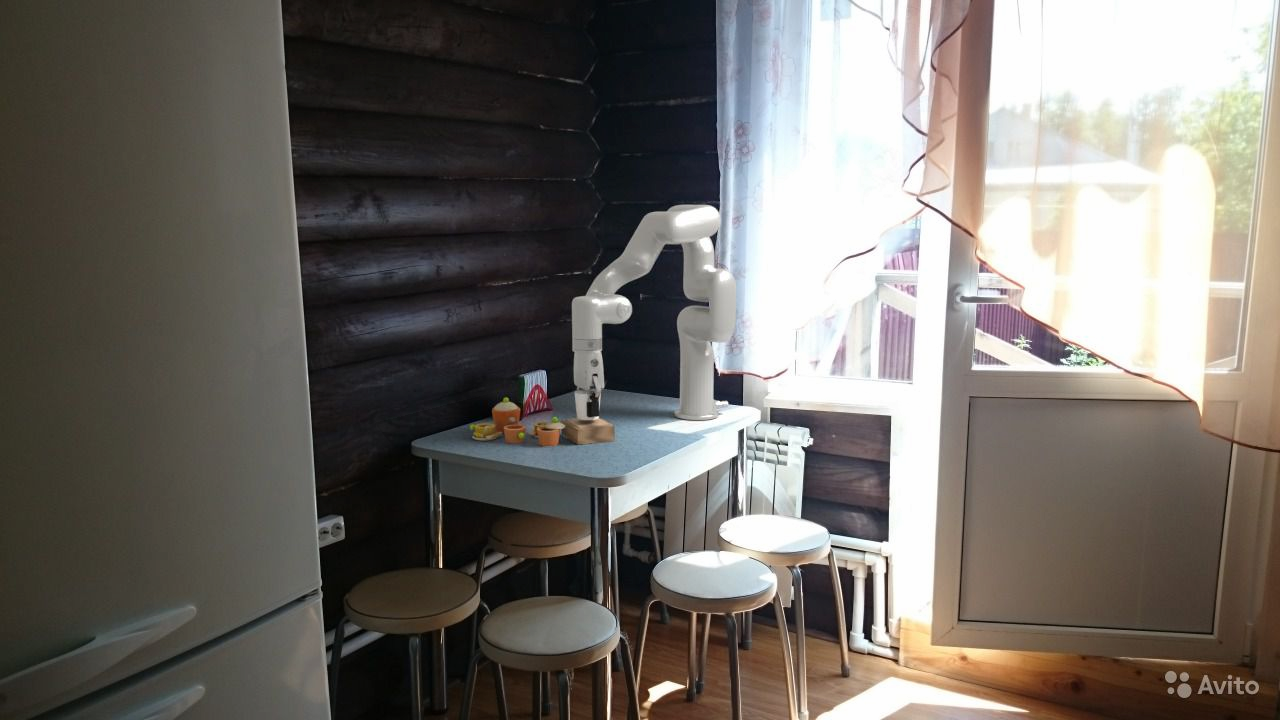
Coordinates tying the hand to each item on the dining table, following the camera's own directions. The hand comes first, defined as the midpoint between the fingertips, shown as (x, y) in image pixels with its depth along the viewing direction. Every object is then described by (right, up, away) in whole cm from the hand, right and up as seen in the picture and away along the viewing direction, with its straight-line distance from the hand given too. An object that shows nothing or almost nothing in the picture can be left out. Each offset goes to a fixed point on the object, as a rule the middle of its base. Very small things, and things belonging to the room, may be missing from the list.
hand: (588, 413), depth 236 cm
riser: (0, -6, +1) cm, 6 cm away
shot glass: (0, -1, 0) cm, 1 cm away
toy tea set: (-17, -7, +1) cm, 18 cm away
